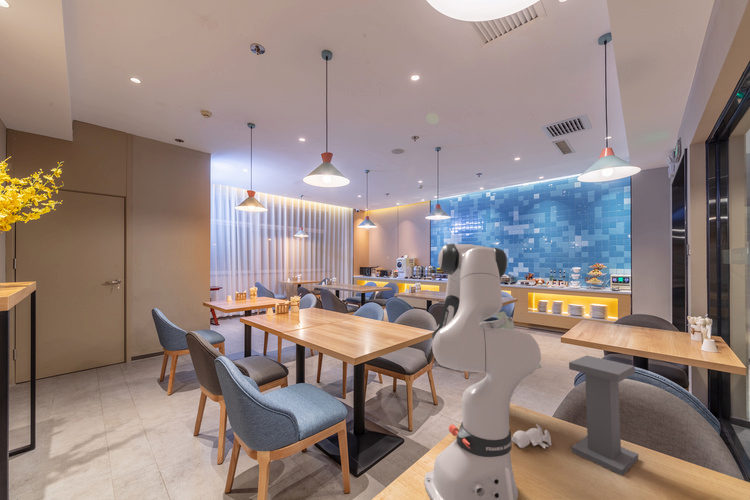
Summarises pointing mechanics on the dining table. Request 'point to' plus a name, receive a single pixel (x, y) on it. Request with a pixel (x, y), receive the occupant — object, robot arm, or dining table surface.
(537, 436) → the toy figure
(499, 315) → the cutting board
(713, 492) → the dining table surface
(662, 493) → the dining table surface
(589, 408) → the stand
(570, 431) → the dining table surface
